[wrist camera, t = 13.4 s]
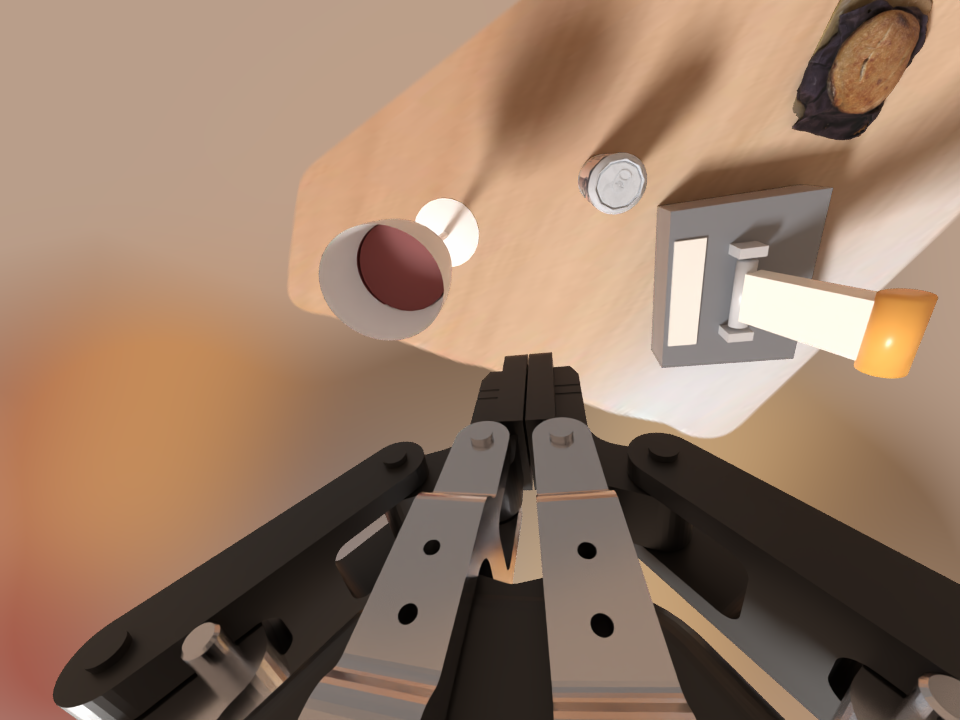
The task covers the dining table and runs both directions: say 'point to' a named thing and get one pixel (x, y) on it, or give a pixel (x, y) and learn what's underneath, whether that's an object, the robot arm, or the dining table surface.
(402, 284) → the wineglass
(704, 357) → the block
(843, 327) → the breaker lever
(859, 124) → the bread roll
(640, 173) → the beer can
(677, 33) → the dining table surface
